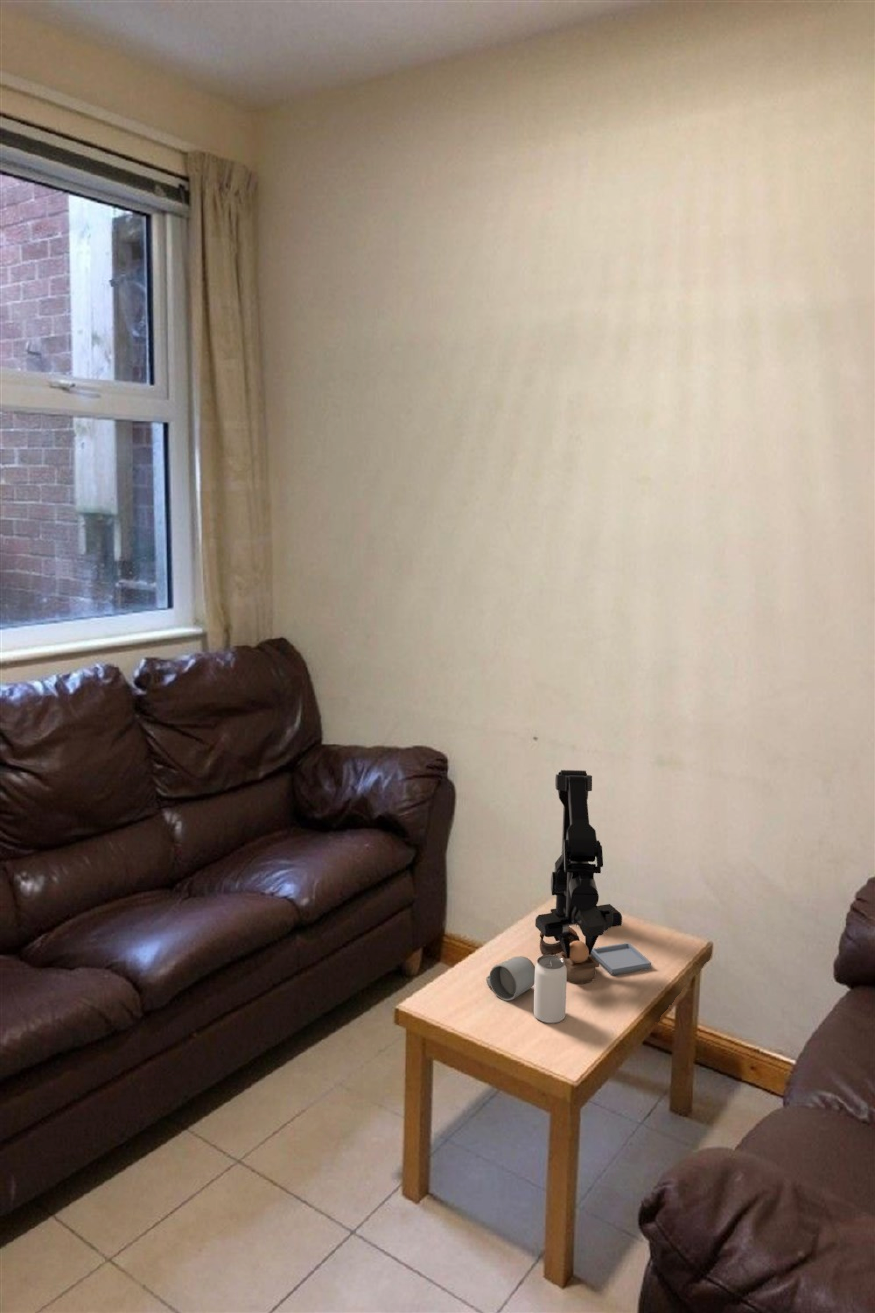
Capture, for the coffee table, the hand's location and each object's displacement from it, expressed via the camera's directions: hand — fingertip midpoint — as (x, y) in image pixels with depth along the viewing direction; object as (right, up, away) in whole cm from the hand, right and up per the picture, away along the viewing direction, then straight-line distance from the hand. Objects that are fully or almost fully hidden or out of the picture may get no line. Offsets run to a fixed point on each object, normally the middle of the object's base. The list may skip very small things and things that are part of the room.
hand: (577, 956), depth 207 cm
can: (-8, -7, -15) cm, 19 cm away
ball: (0, +1, 0) cm, 1 cm away
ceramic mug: (-16, -6, -6) cm, 18 cm away
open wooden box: (0, -4, +1) cm, 4 cm away
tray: (+11, -3, +6) cm, 13 cm away
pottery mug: (-2, -3, +11) cm, 12 cm away
